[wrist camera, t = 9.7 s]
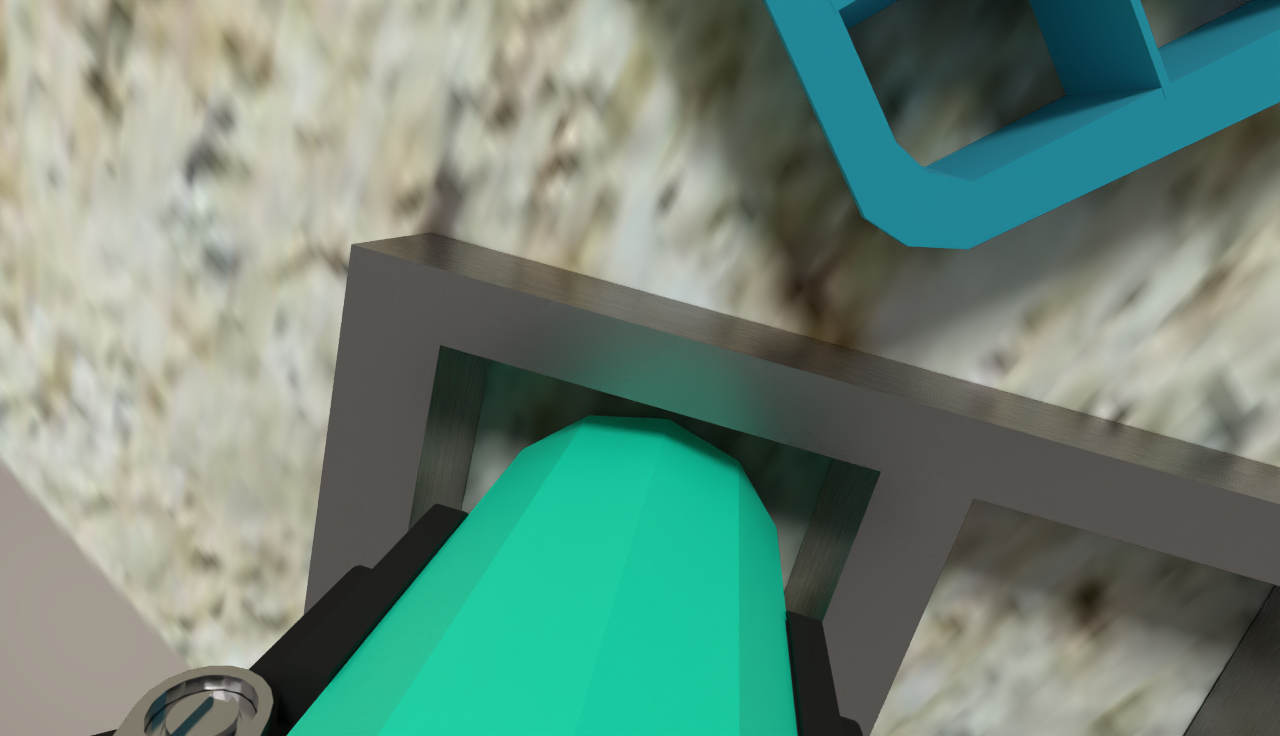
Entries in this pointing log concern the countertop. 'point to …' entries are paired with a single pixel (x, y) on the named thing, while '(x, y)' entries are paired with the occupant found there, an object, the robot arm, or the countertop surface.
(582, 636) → the candle
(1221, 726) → the hollow block
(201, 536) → the countertop surface
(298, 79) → the countertop surface
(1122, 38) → the ice cube tray
